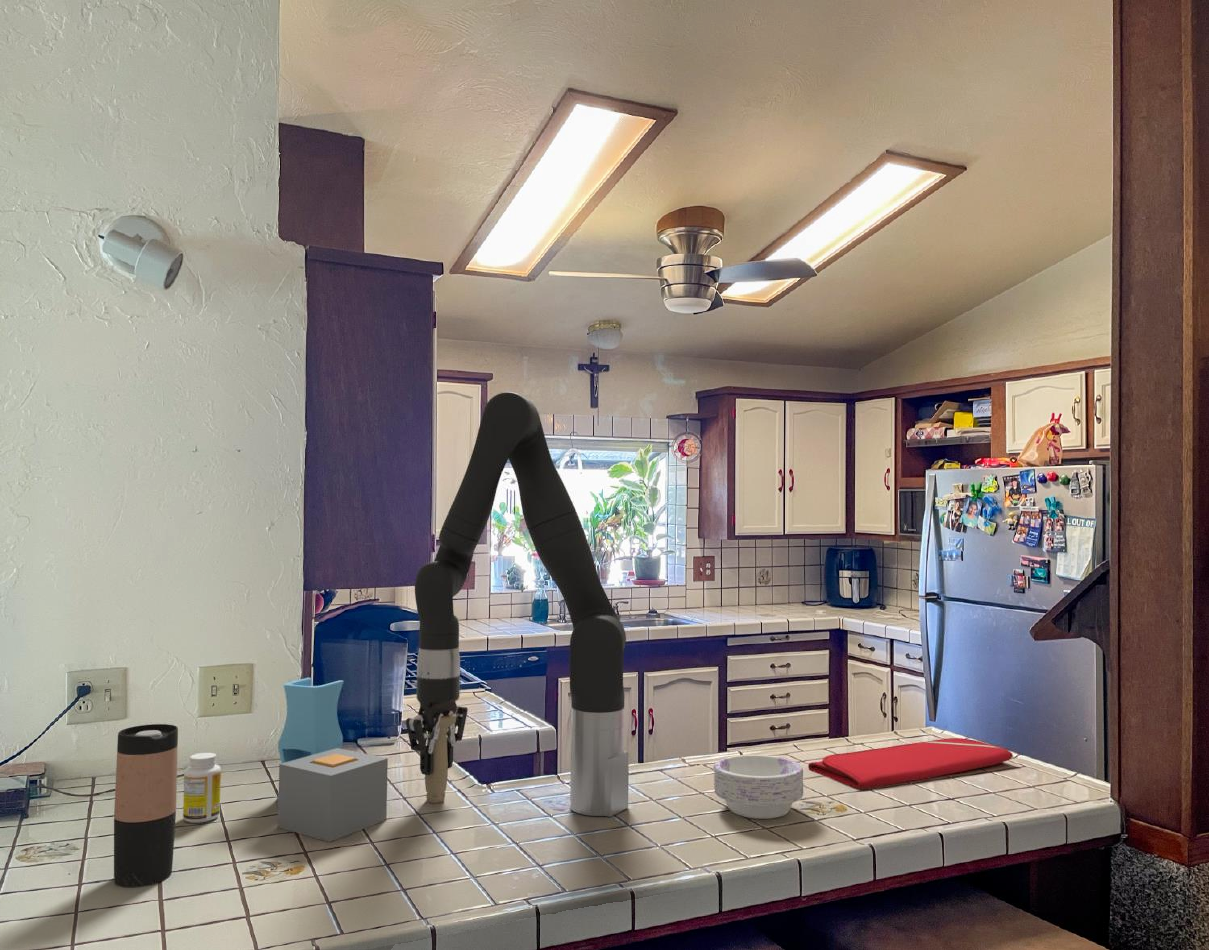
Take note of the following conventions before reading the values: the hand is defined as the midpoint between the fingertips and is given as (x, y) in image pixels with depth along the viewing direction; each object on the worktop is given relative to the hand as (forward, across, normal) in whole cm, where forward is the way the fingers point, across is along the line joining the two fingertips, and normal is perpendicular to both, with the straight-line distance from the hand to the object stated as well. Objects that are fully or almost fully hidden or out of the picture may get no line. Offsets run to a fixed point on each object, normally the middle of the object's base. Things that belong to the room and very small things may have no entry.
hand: (436, 770), depth 157 cm
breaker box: (+5, -18, +6) cm, 20 cm away
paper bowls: (+6, +26, -50) cm, 57 cm away
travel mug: (+5, -47, +11) cm, 49 cm away
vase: (+5, -10, +21) cm, 24 cm away
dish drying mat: (+6, +69, -66) cm, 96 cm away
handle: (+6, 0, 0) cm, 6 cm away
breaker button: (-1, -18, +6) cm, 19 cm away
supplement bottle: (+5, -28, +26) cm, 39 cm away
